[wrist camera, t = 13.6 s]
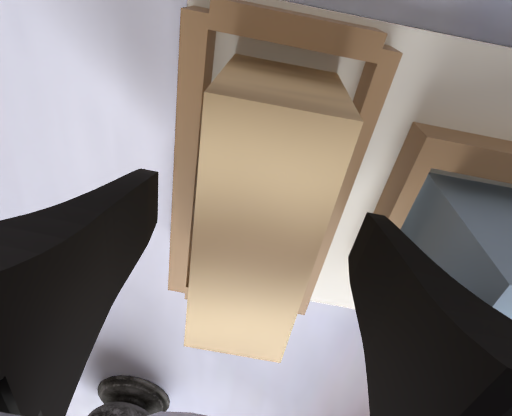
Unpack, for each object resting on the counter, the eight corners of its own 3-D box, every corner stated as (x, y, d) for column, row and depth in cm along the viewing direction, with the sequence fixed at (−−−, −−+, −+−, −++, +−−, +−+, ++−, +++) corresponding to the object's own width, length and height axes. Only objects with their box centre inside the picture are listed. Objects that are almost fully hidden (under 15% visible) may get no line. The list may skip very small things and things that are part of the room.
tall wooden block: (282, 267, 17) (280, 363, 12) (210, 254, 17) (184, 346, 12) (337, 72, 12) (363, 121, 7) (235, 53, 12) (204, 91, 7)
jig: (810, 109, 12) (902, 131, 10) (564, 339, 18) (593, 376, 17) (192, -18, 11) (175, -19, 9) (175, 267, 18) (163, 297, 16)
